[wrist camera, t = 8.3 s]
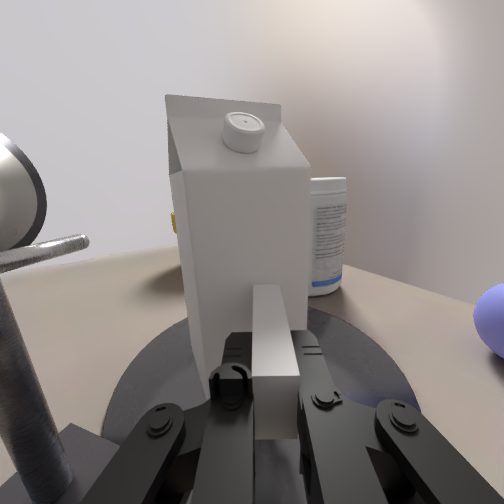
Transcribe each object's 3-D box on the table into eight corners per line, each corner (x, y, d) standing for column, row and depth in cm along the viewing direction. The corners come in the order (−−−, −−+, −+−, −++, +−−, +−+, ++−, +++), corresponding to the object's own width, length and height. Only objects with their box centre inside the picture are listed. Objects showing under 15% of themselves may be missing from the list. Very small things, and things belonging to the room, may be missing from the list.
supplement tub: (335, 272, 39) (343, 176, 34) (346, 301, 30) (358, 177, 25) (275, 270, 41) (275, 178, 36) (268, 297, 32) (267, 180, 27)
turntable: (539, 806, 6) (544, 801, 6) (11, 468, 13) (9, 463, 13) (391, 321, 26) (391, 317, 25) (209, 293, 33) (209, 290, 33)
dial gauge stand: (44, 618, 9) (-301, 30, 4) (-38, 543, 11) (-341, 89, 5) (146, 467, 13) (61, 110, 8) (75, 433, 15) (-31, 127, 10)
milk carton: (192, 352, 21) (161, 112, 16) (264, 331, 24) (257, 118, 19) (211, 421, 15) (170, 65, 10) (306, 382, 18) (315, 84, 12)
